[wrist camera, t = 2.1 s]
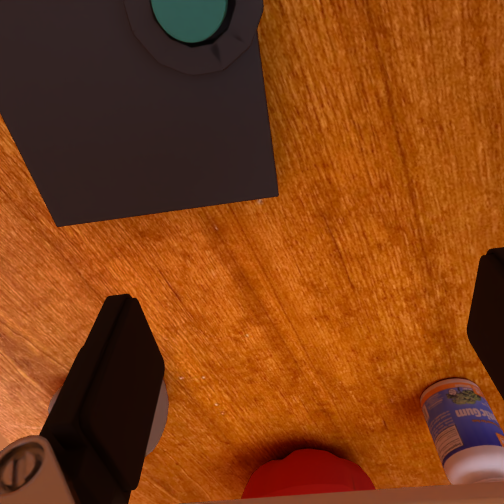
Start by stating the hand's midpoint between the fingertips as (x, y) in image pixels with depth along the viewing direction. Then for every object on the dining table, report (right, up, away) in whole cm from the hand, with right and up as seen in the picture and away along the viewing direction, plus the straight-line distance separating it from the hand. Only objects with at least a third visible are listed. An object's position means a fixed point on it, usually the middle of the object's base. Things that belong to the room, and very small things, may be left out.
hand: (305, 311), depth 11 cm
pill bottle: (+17, -11, +26) cm, 33 cm away
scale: (-8, +10, +11) cm, 17 cm away
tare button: (-4, +12, +6) cm, 15 cm away
